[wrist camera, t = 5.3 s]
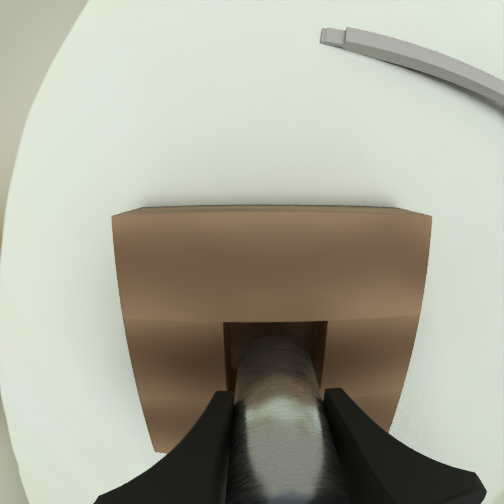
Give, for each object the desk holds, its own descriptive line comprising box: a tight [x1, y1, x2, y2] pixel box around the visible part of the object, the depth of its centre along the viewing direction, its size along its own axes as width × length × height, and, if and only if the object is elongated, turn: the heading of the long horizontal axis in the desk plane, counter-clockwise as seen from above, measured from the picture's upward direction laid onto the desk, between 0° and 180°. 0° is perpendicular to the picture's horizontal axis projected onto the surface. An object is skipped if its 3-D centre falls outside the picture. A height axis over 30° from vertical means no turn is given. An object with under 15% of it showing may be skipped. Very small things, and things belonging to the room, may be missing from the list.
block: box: [112, 205, 432, 453], centre depth 16 cm, size 14×14×4 cm
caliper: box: [320, 27, 504, 105], centre depth 12 cm, size 20×1×6 cm, turn 80°
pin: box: [225, 336, 350, 504], centre depth 10 cm, size 3×3×8 cm
